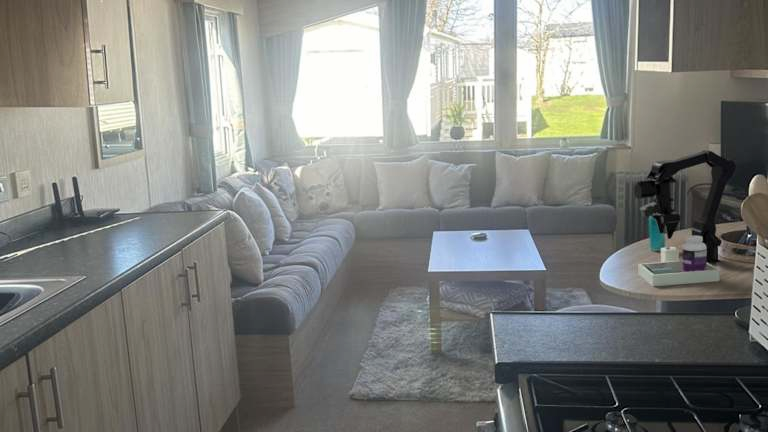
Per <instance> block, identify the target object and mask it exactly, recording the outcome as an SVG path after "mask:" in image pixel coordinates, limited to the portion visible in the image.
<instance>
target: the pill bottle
mask: <svg viewBox="0 0 768 432" xmlns="http://www.w3.org/2000/svg"><path fill="white" fill-rule="evenodd" d="M685 241H686V242H684V243H683V244H682V247H681V250H682V255H681V256H682V258H681V259H682V272H692V271H704V270H707V263H708V262H707V247H706V245H705V244H704V243H702V241H703V237H702V236H692V235H687V236H685Z"/></svg>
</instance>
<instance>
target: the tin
mask: <svg viewBox="0 0 768 432" xmlns="http://www.w3.org/2000/svg"><path fill="white" fill-rule="evenodd" d="M646 266H647V269H648V270H649V271H650V272H651V273H653V274H654V275H655V274H667V273H672V272H671V269H672V268H671V267H670V266H669V265H667V264H666V263H660V264H647V265H646Z"/></svg>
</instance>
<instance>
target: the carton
mask: <svg viewBox="0 0 768 432" xmlns="http://www.w3.org/2000/svg"><path fill="white" fill-rule="evenodd" d="M679 251H680V250H679V249H678V248H676V247H675V246H665V247H664V248H661V251H660V262H669V261H680V252H679Z"/></svg>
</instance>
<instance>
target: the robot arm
mask: <svg viewBox="0 0 768 432" xmlns="http://www.w3.org/2000/svg"><path fill="white" fill-rule="evenodd" d="M704 163H705V164H706V165H707V166H709V167H710V168H711V171H710V175H711V184H710V188H709V192H708V195H707V198H706V202H705V205H704V207H703V210H702V215H701V217H700V218H699V219H698V220H694V221H693V223H692V227H691V229H690V231H691V236H702V237H703V241H702V243H704V244H705V245H706V247H707V263H716V262H717V263H718V262H721V259H719V247H721V245H722V242H723V241H722V239H720V237H718V236H717V235H716V233H717V225H716V217H717V215H718V211H719V209H720V206H721V202H722V199H723V196H724V193H725V189H726V187H727V184H728V183H729V182H730V181H731V180H732V179H733V177H734V175H735V172H736V171H737V164H736V162H735V161H734V160H732V159H727V158H725V157H722V156H720V155H719V154H716V153H715V152H714V151H712V150H705V149H704V150H702V151H699V152H696V153H692V154H690V155H686V156H682V157H680V158H675V159H671V160H670V159H669V160H666V159H665V160H658V161H655V162H654V163H653V164H652V165H651V170H650V171H649V173H648V174H647V175H646V178H645V179H644V180H636V182H635V183H636V184H635V185H634V189H633V194H634V197H635V198H636V199H637V200H642V199H649V198H652V202H650V203H648V204H645V205H643V206H641V207H639V211H640V212H641V215H642V216H643V217H644V218H650V216H652V217H653V218H654V219H655V220H656V223H657V226H658V229H659V232H660V234H661V233H663V231H664V232H666V238H667V240H670V239H672V238H673V235H674V232H676V231H675V230H676V229H677V226H678V225H679V224H680V222H681V221H682V217H681V214H679V213H678V212H676V211H675V209H674V208H673V202H674V197H672V196H673V195H672V184H673V183H677V179H675V178H674V177H673V176H674V175H677V173H678V172H680V171H683V170H686V169H689V168H691V167H696V166H698V165H702V164H704Z"/></svg>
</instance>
